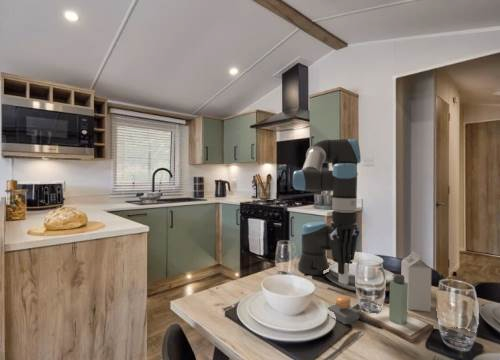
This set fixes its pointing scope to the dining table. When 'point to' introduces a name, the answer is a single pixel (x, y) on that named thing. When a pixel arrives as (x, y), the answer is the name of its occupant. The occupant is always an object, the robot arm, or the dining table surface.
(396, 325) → the wooden tray
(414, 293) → the milk carton
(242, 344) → the dining table surface
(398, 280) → the green tall block
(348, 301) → the button
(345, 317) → the button base
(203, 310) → the dining table surface
